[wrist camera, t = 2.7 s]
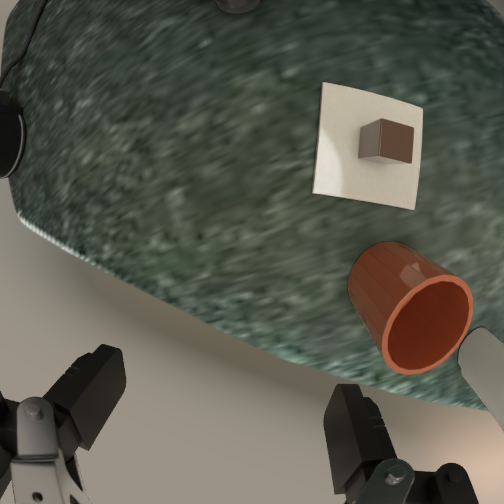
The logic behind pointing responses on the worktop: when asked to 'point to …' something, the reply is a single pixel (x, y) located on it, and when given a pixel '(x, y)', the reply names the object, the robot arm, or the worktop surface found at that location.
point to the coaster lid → (367, 147)
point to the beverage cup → (237, 5)
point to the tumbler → (409, 306)
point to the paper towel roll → (484, 369)
